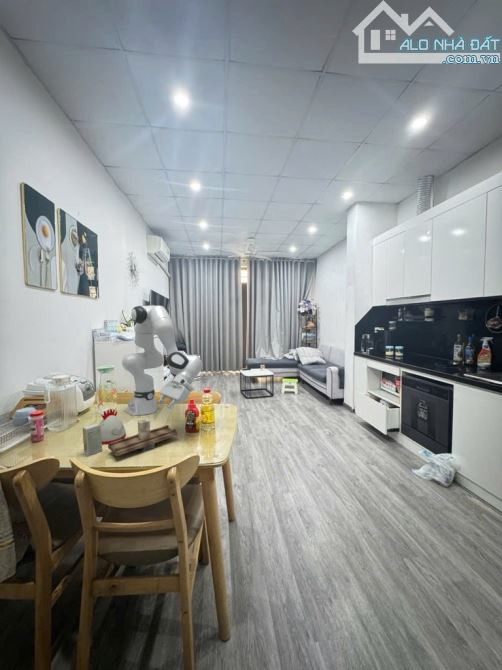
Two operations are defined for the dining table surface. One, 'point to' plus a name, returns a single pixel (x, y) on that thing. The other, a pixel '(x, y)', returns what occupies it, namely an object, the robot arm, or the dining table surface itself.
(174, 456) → the dining table surface
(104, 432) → the grey crested helmet
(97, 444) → the skincare box
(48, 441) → the dining table surface
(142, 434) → the rider block
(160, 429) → the balance beam
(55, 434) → the dining table surface
